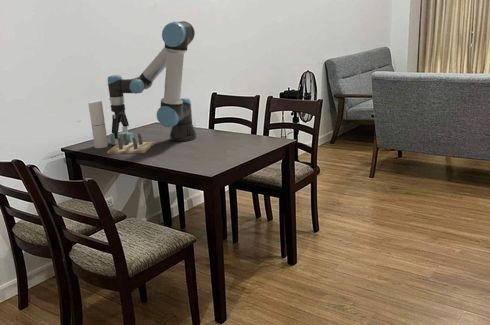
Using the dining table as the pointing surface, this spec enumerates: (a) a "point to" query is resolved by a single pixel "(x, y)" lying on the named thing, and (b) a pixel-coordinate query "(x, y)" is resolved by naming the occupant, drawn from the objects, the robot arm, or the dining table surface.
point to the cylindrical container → (98, 124)
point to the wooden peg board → (130, 146)
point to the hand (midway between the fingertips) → (122, 141)
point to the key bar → (121, 135)
